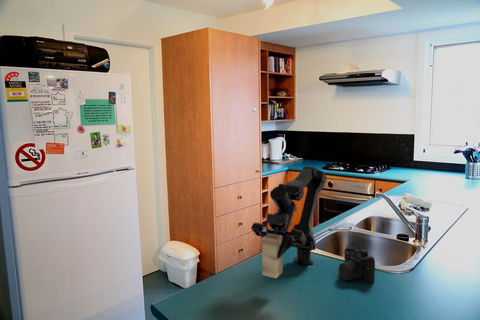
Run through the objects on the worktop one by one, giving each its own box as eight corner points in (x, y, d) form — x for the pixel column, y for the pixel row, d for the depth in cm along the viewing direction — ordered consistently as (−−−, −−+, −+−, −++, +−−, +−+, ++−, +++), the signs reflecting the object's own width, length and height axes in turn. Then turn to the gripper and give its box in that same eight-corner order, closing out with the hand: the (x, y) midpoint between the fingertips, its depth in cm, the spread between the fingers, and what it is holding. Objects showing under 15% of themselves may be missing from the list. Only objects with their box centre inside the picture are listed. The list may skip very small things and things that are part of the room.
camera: (329, 271, 138) (329, 246, 137) (351, 266, 142) (352, 242, 141) (353, 288, 126) (354, 260, 124) (377, 282, 130) (378, 255, 128)
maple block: (269, 269, 126) (269, 233, 124) (282, 272, 123) (282, 235, 121) (262, 274, 122) (262, 237, 120) (276, 278, 119) (275, 240, 117)
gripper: (253, 200, 127) (237, 240, 119) (303, 207, 117) (289, 251, 110) (263, 215, 135) (249, 254, 127) (311, 223, 125) (299, 266, 118)
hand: (270, 256), depth 120 cm, fingers closed on maple block, 5 cm apart
